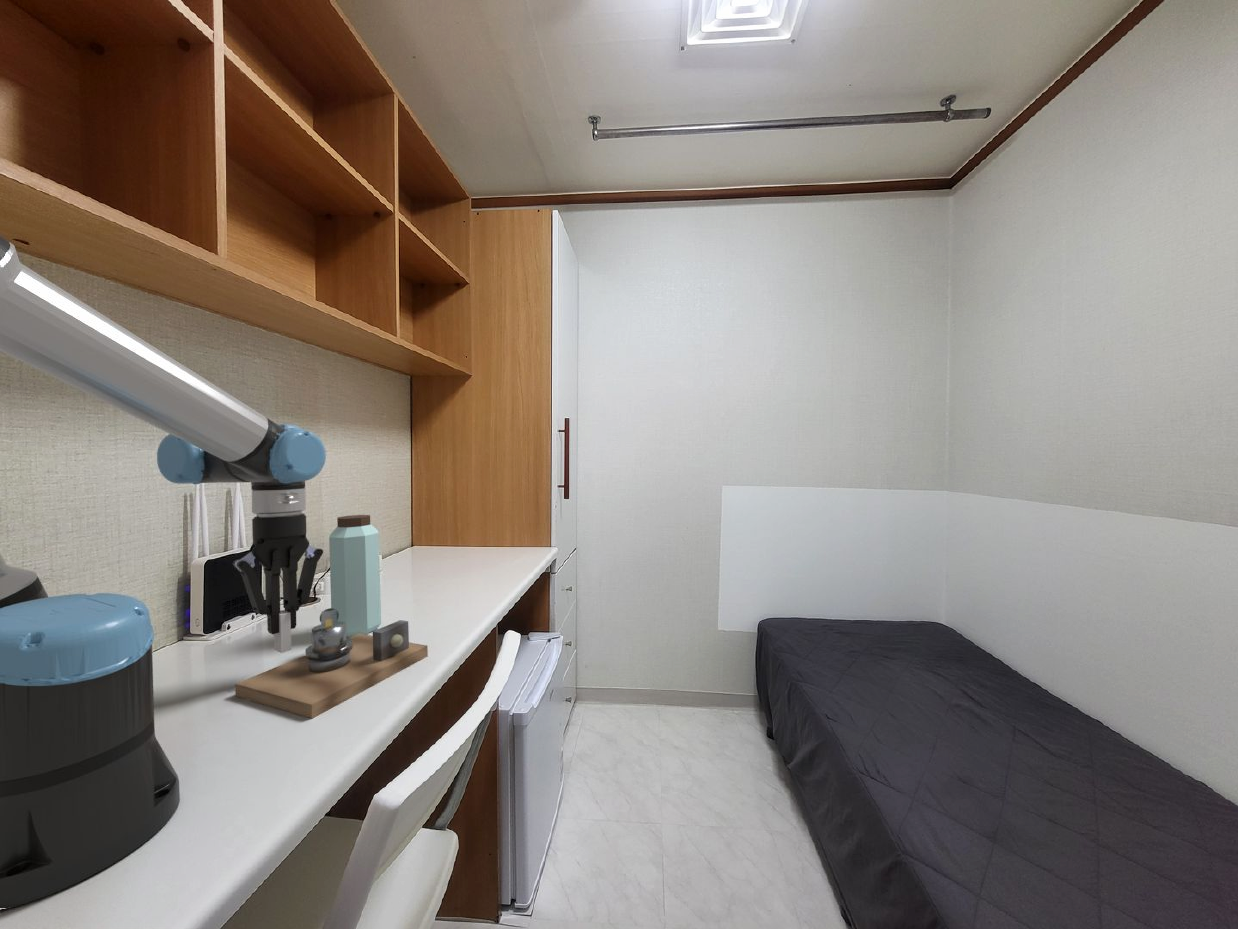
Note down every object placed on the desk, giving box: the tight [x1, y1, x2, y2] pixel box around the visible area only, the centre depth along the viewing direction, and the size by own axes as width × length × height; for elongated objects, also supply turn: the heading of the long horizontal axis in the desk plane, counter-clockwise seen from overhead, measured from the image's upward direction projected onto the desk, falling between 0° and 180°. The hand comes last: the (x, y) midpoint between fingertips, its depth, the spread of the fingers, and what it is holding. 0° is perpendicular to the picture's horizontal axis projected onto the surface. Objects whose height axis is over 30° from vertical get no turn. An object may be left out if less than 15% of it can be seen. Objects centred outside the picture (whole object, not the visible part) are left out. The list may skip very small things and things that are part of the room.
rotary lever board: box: [234, 619, 429, 719], centre depth 80 cm, size 22×18×7 cm
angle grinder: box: [305, 607, 353, 661], centre depth 84 cm, size 16×7×5 cm, turn 32°
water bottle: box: [328, 514, 382, 638], centre depth 100 cm, size 10×10×25 cm
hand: (282, 649), depth 79 cm, fingers closed
